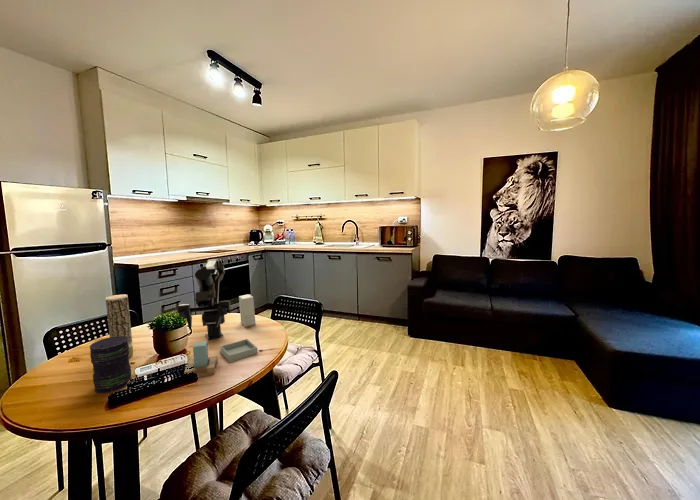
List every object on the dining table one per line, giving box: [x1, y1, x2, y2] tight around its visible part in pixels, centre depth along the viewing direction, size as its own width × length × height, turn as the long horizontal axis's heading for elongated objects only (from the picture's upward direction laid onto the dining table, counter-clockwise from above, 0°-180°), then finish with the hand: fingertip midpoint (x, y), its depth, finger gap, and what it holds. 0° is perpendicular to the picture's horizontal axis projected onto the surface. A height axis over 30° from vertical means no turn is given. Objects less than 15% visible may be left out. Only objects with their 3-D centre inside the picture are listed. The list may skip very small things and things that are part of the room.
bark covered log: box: [105, 293, 134, 358], centre depth 115 cm, size 7×7×25 cm
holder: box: [183, 355, 219, 378], centre depth 106 cm, size 9×9×2 cm
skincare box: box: [238, 293, 256, 328], centre depth 152 cm, size 8×6×15 cm
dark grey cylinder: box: [89, 336, 133, 395], centre depth 96 cm, size 10×10×15 cm
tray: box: [219, 338, 258, 363], centre depth 119 cm, size 11×11×3 cm
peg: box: [192, 340, 209, 368], centre depth 105 cm, size 4×4×10 cm
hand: (203, 328), depth 111 cm, fingers open, 9 cm apart
